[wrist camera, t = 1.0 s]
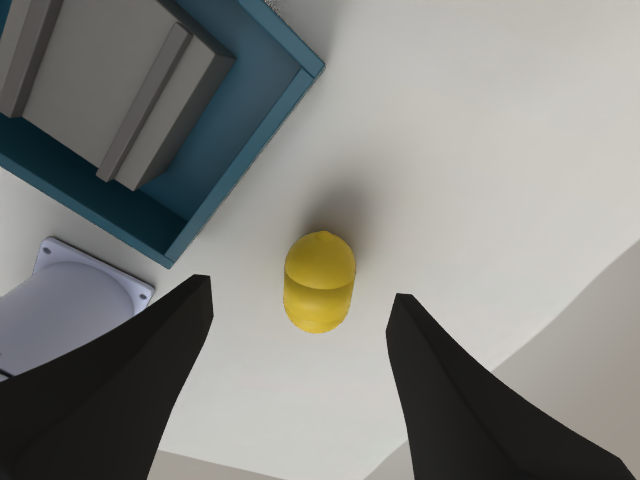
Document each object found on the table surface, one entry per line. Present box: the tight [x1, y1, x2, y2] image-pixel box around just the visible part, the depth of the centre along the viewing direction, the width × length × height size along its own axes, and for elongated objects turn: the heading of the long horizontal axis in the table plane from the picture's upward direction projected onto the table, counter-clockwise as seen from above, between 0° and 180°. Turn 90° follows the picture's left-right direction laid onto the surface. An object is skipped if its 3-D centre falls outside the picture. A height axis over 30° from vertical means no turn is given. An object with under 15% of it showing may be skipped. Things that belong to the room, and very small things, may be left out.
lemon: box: [283, 231, 356, 333], centre depth 20 cm, size 8×5×5 cm, turn 175°
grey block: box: [0, 0, 237, 191], centre depth 14 cm, size 8×7×4 cm
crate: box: [0, 0, 326, 269], centre depth 14 cm, size 13×14×5 cm
